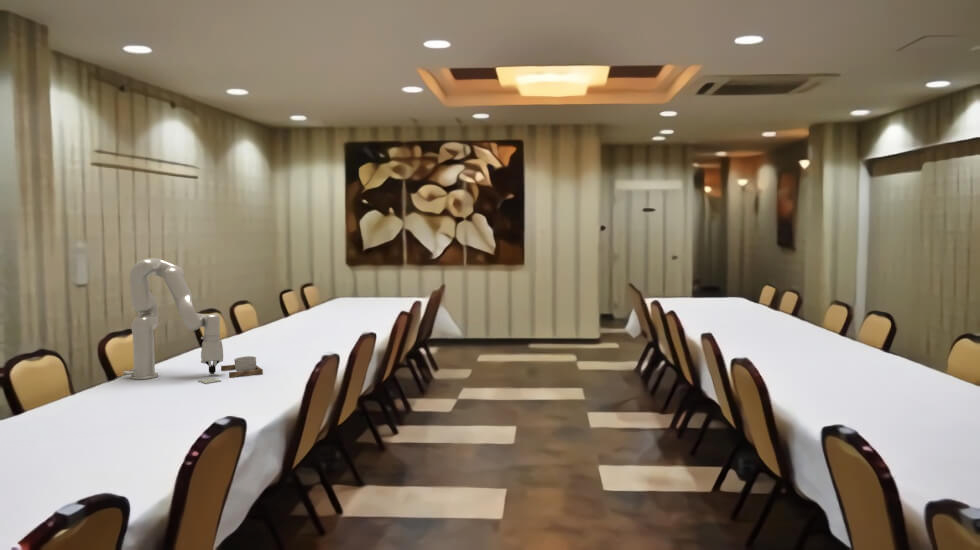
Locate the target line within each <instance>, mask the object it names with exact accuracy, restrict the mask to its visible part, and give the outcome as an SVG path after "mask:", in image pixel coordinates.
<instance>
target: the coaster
mask: <svg viewBox="0 0 980 550" xmlns="http://www.w3.org/2000/svg"><path fill="white" fill-rule="evenodd" d="M200 382H201V384H204V385H209V384H215V383H216V384H217V383H221V382H222V380H221V379H218V378H216V377H210V378H204V379H203V378H202V379H198V380H197V383H200Z"/></svg>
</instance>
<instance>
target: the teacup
mask: <svg viewBox="0 0 980 550" xmlns="http://www.w3.org/2000/svg"><path fill="white" fill-rule="evenodd" d="M233 360H234V365H235V369H236V370H235V372H237V371H248V370H255V369H256V365H257V356H252V355H246V356H240V357H236V358H234V359H233Z"/></svg>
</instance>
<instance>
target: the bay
mask: <svg viewBox="0 0 980 550" xmlns="http://www.w3.org/2000/svg"><path fill="white" fill-rule="evenodd" d="M263 370H264V369H263V368H262V367H259V366H258V365H257V364H256V369H255V370H248V371H236V369H235V364H225V365H220V371H221V372H223V371H224V372H226V371H229V372H228V378H231V379H232V378H239V377H240V378H241V377H250V376H261V375H264V371H263Z"/></svg>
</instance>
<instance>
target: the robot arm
mask: <svg viewBox="0 0 980 550" xmlns="http://www.w3.org/2000/svg"><path fill="white" fill-rule="evenodd" d="M153 275H154V276H156V277H159V278H162V279H163V281H164V282H165V285H166V286H167V289H168V290H169V292H170V294H171V296H172V297H173V299H174V301H175V306H176V308H177V311H178V314H179V316H180V318H181V320H182V321H183V324H184V325H185V327H186V328H187V329H188V330H190V331H197V330H199V329H201V328H203V336H201V337H200V339H201V340H203V341H202V343H201V352H200V356H201V360H200V363H201V364H204V365H205V364H206V365H207V366H208V373H209V374H211V375H215V373H216V372H217V371H216V366H217V365H218V364H219V363H222V362H224V348H223V347H224V346H223V341H222V340H221V336H220V335H221V330H220V329H221V325H220V324H221V321H220V320H221V318H220V315H219V314H217V313H208V314H206V313H205V314H204V313H197V312H196V309H195V307H194V305H193V298H192V297H193V296H192V295H193V294H192V291H191V290H190V288H189V286H188V284H187V282H186V279H185V272H184V269H183V268H181V267H180V266H179V265H176V264H172V263H170V262H168V261H165V260H163V259H161V258H158V257H157V258H156V257H150V258H145V259H142V260H140V261H138V262H136V263H135V264H134V265H133V266H132V267H131V269H130V271H129V286H130V299H131V306H132V309H133V310H134V311H135V312H137V316H136V317H135V318H134V319H133V321H132V322H131V333H132V347H133V348H132V349H133V351H132V352H133V367H132V368H131V369H130V370H123V375H128V376H129V375H130V379H133V380H149V379H154V378H157V377H158V376H159V372H156V367H155V366H156V365H155V335H154V330H155V329H156V328H157V327H158V325H159V311H158V301H157V299H156V296H155V295H154V294H153V293H152V292H150V282H149V277H150V276H153Z"/></svg>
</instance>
